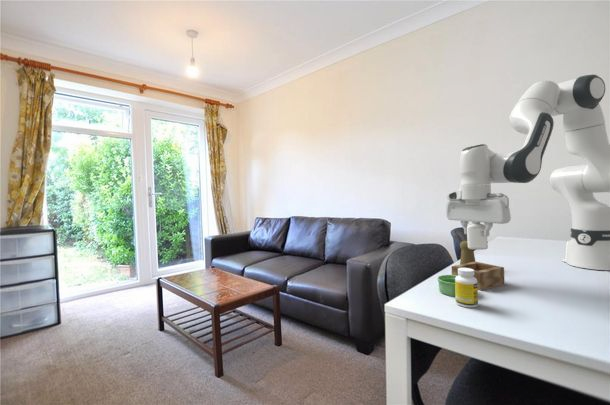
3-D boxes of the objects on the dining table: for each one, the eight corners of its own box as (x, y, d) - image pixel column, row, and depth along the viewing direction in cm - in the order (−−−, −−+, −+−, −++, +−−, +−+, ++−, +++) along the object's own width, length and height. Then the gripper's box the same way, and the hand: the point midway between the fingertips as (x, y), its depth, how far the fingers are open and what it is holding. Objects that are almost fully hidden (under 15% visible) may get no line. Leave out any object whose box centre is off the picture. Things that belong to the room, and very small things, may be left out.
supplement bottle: (478, 309, 75) (476, 272, 75) (454, 306, 78) (453, 270, 78) (478, 302, 80) (477, 267, 79) (456, 299, 83) (455, 266, 82)
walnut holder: (475, 276, 103) (475, 261, 103) (504, 284, 94) (504, 267, 93) (452, 282, 98) (451, 266, 98) (480, 290, 89) (479, 273, 89)
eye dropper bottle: (484, 250, 92) (482, 213, 91) (466, 249, 96) (463, 213, 96) (489, 248, 94) (487, 212, 94) (471, 247, 99) (469, 212, 99)
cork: (460, 270, 111) (459, 242, 111) (458, 266, 117) (457, 239, 116) (478, 271, 109) (477, 242, 109) (475, 267, 115) (474, 240, 114)
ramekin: (466, 300, 82) (465, 285, 82) (433, 294, 88) (433, 279, 88) (473, 291, 88) (473, 277, 88) (443, 286, 95) (442, 273, 94)
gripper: (514, 192, 87) (515, 238, 87) (455, 194, 105) (456, 231, 106) (501, 193, 84) (502, 240, 84) (442, 194, 103) (444, 232, 103)
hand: (476, 235), depth 95 cm, fingers closed on eye dropper bottle, 5 cm apart
